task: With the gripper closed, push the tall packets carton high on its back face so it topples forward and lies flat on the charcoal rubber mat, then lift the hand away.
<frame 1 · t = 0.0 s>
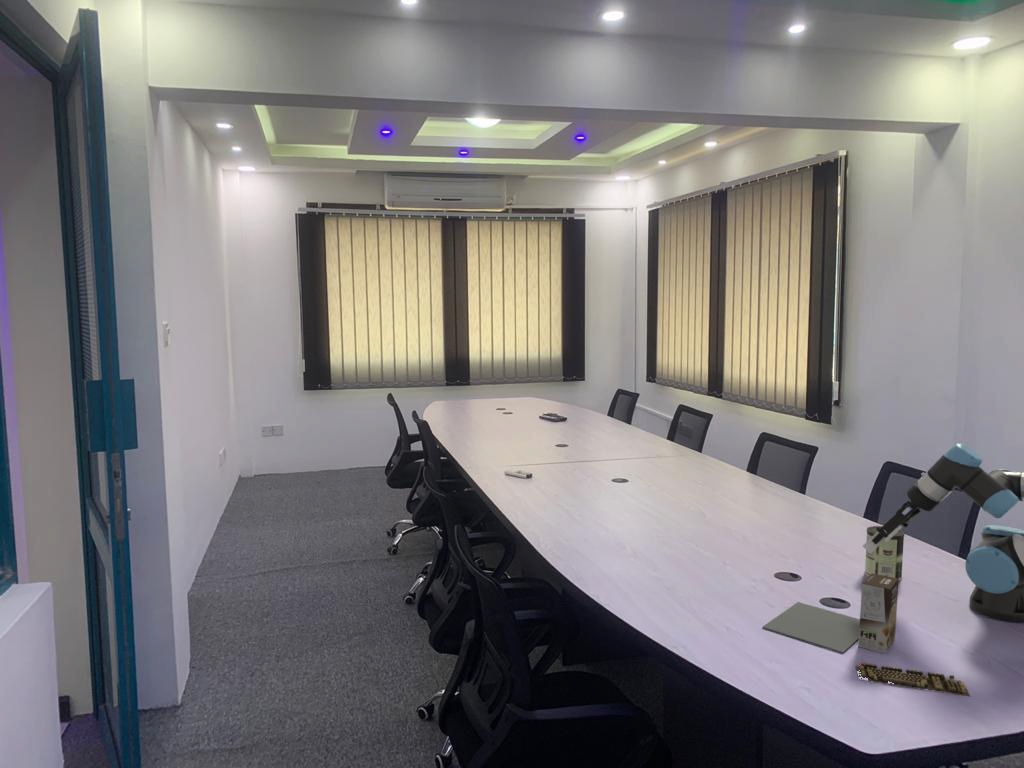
hand: (875, 543, 207), 15 cm above the table, tool tilted 35°, fingers open, 13 cm apart
coffee can: (882, 576, 225), on the table
keyboard: (909, 683, 163), on the table
coffee box: (876, 644, 179), on the table
topple mat: (818, 626, 189), on the table
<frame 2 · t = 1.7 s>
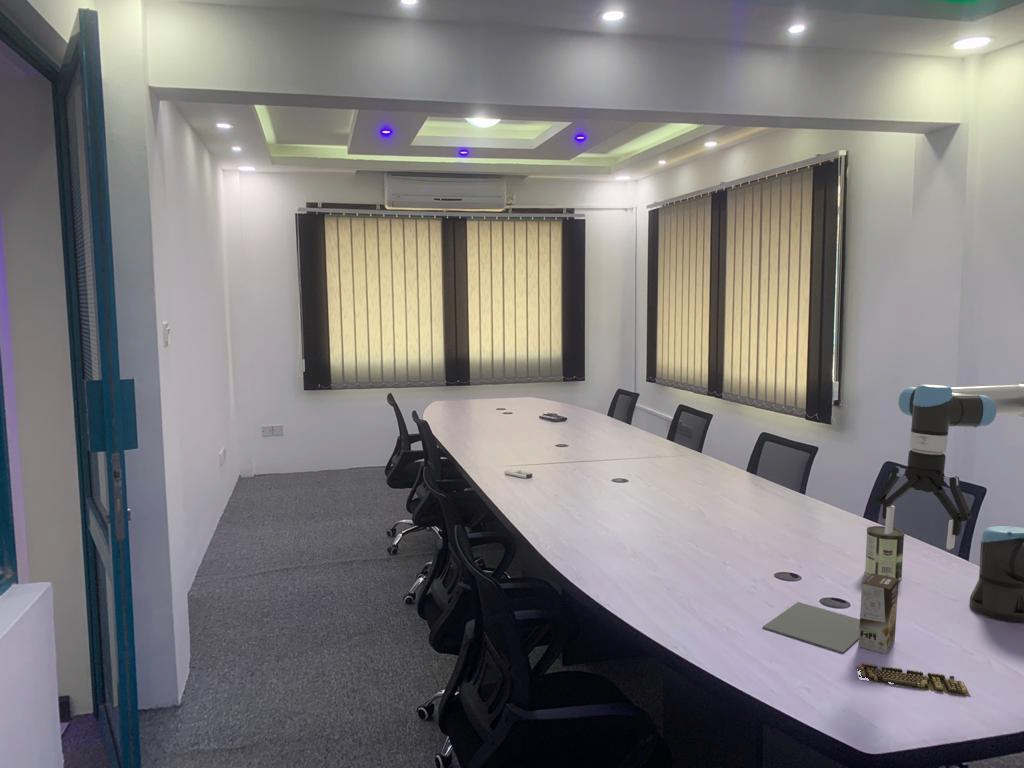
hand: (918, 540, 173), 27 cm above the table, tool pointing down, fingers open, 13 cm apart
nothing on the table moved.
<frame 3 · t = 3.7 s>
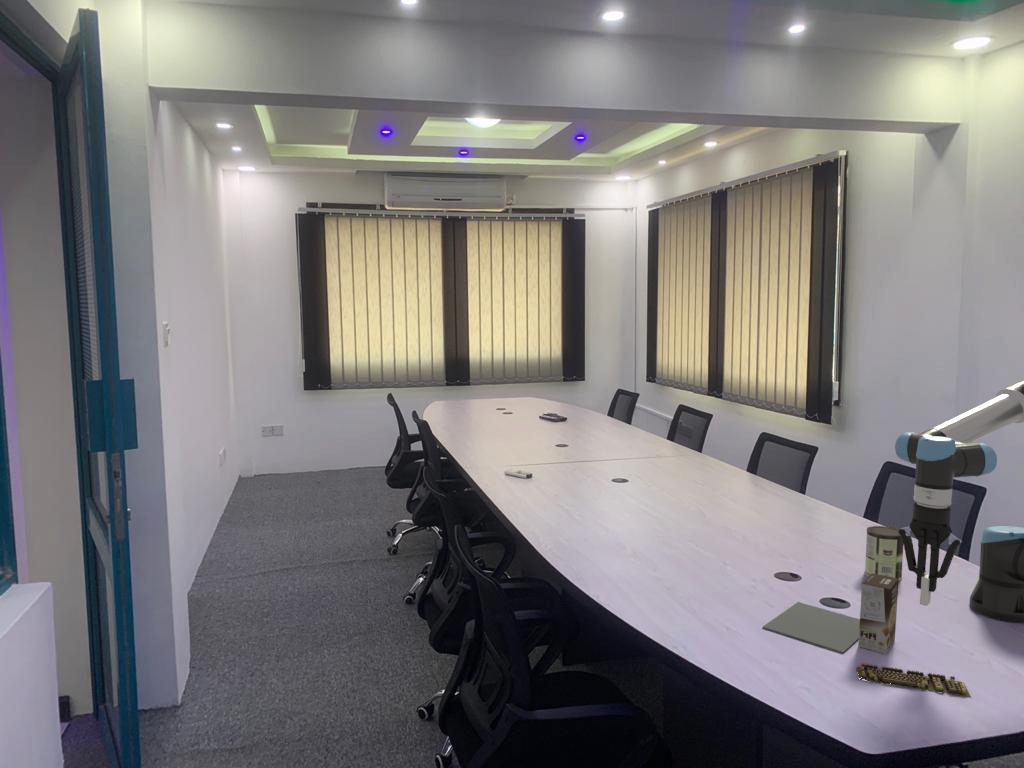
hand: (925, 603, 171), 13 cm above the table, tool pointing down, fingers closed
nothing on the table moved.
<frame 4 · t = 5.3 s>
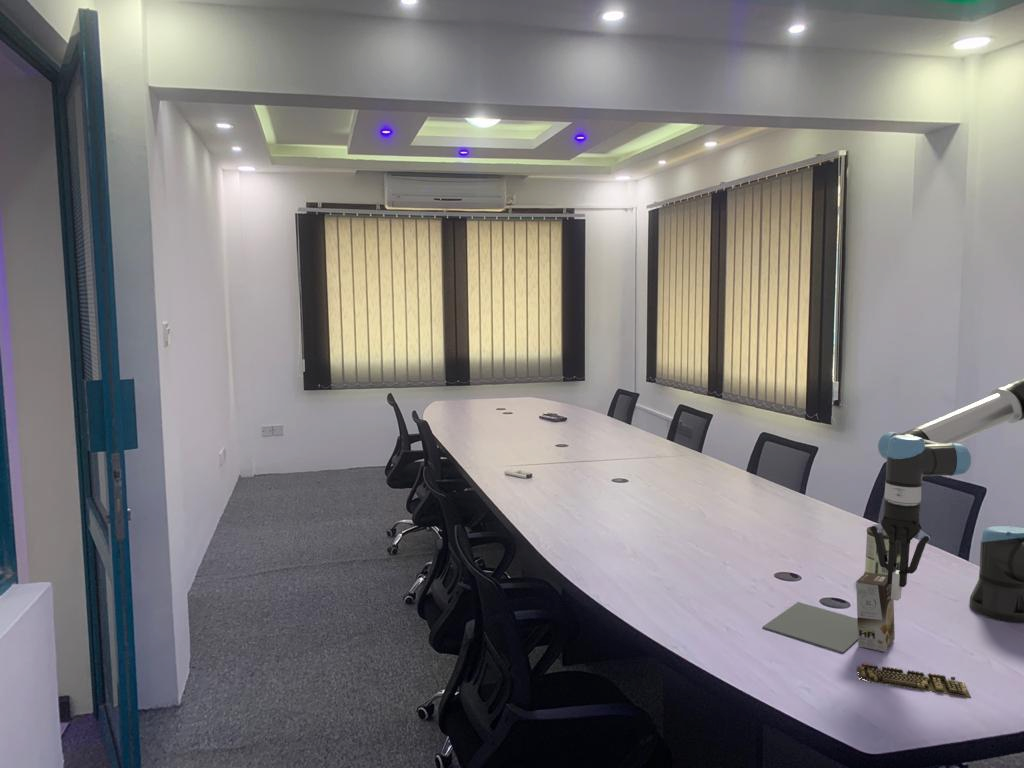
hand: (895, 598, 175), 13 cm above the table, tool pointing down, fingers closed
coffee box: (876, 643, 179), on the table, touching gripper
everything else where it was.
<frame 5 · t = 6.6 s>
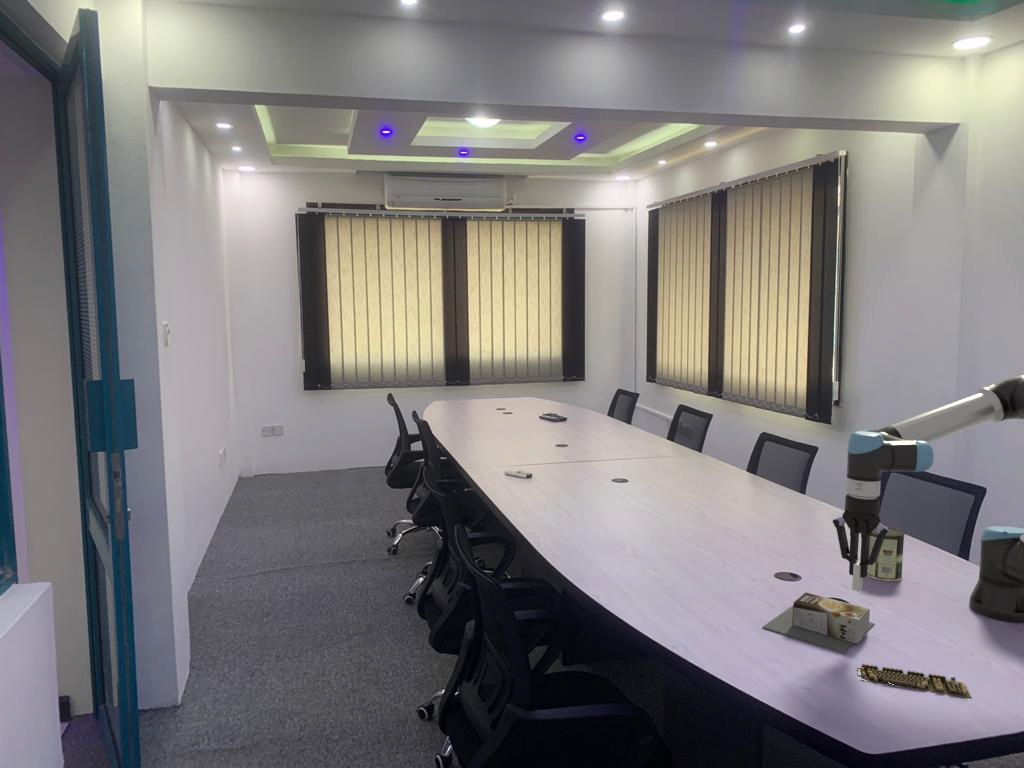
hand: (857, 588, 182), 13 cm above the table, tool pointing down, fingers closed
coffee box: (865, 626, 181), point 4 cm above the table, touching topple mat
everything else where it was.
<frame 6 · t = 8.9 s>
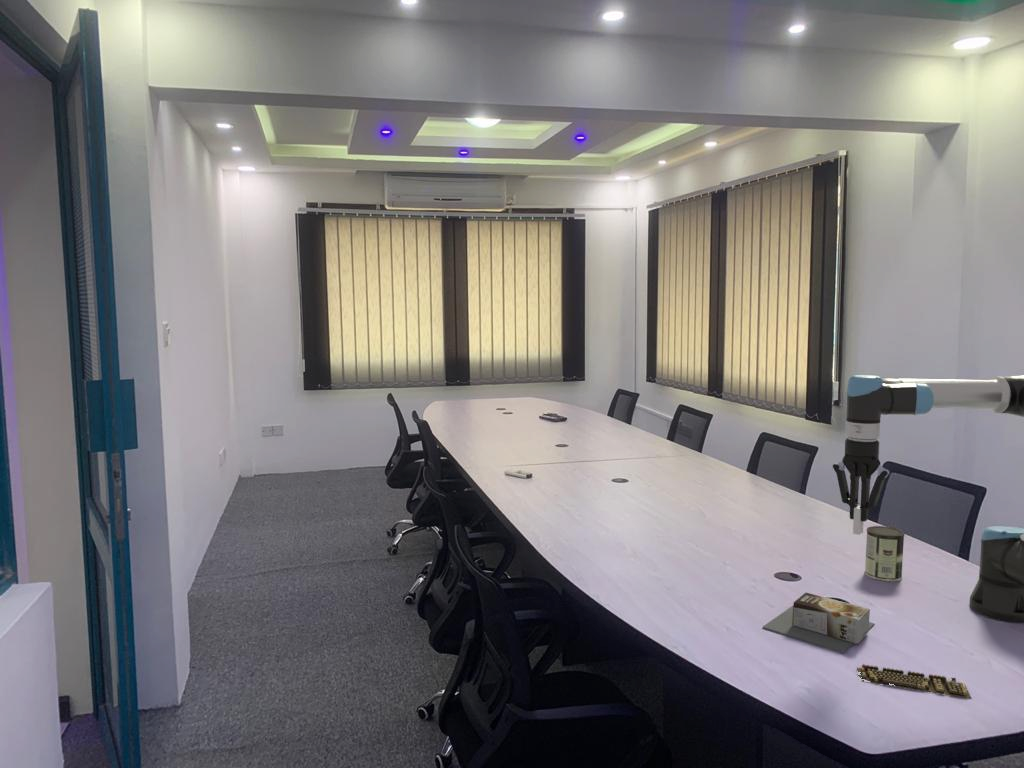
hand: (857, 532, 182), 26 cm above the table, tool pointing down, fingers closed
nothing on the table moved.
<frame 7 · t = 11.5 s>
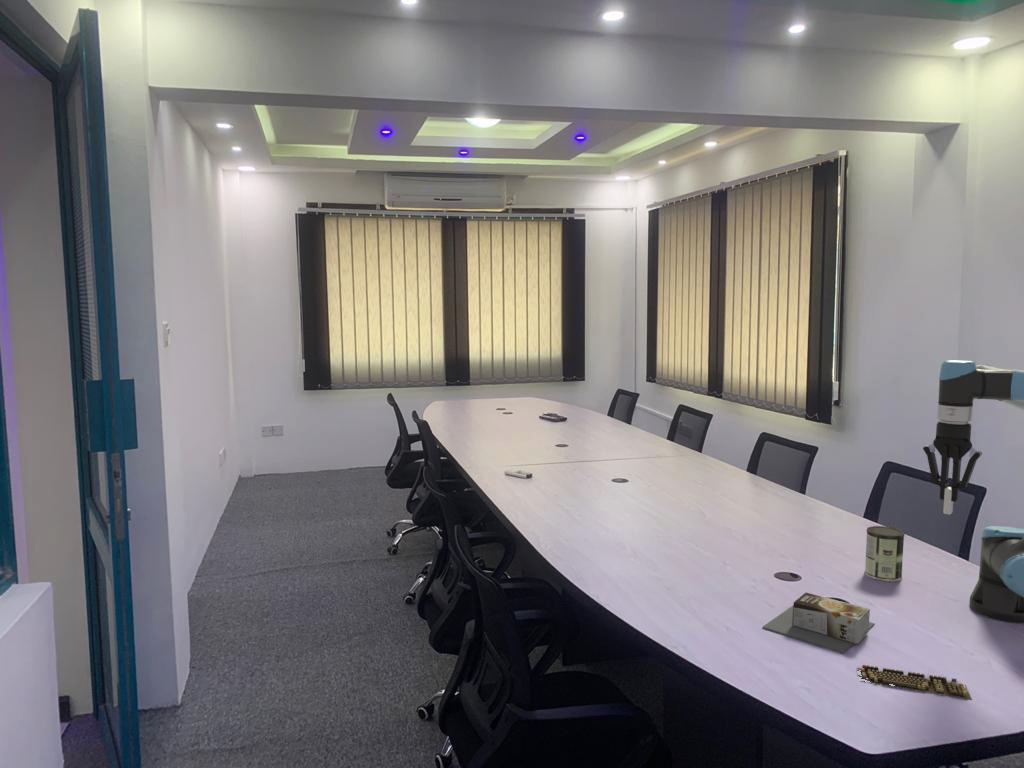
hand: (947, 512, 188), 29 cm above the table, tool pointing down, fingers closed
at the end: coffee box tilted 90°; coffee box inside the target area (5.2 cm from its centre), point 3.6 cm above the table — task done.
